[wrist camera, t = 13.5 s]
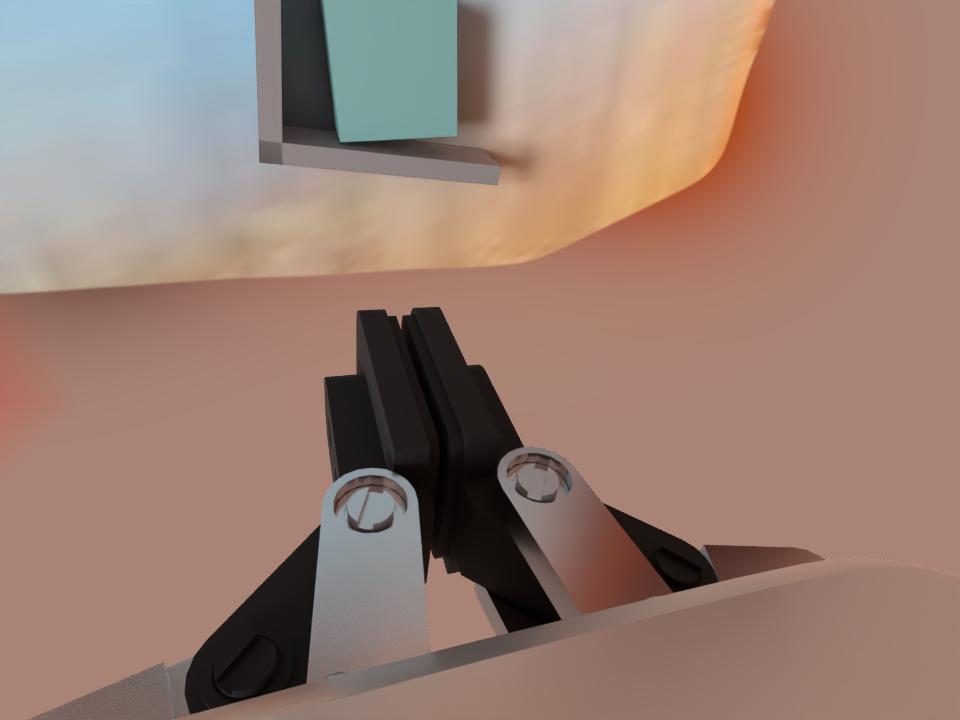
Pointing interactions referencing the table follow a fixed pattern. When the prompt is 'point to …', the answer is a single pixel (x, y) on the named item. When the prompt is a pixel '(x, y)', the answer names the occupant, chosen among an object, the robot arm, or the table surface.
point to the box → (325, 145)
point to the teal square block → (392, 68)
